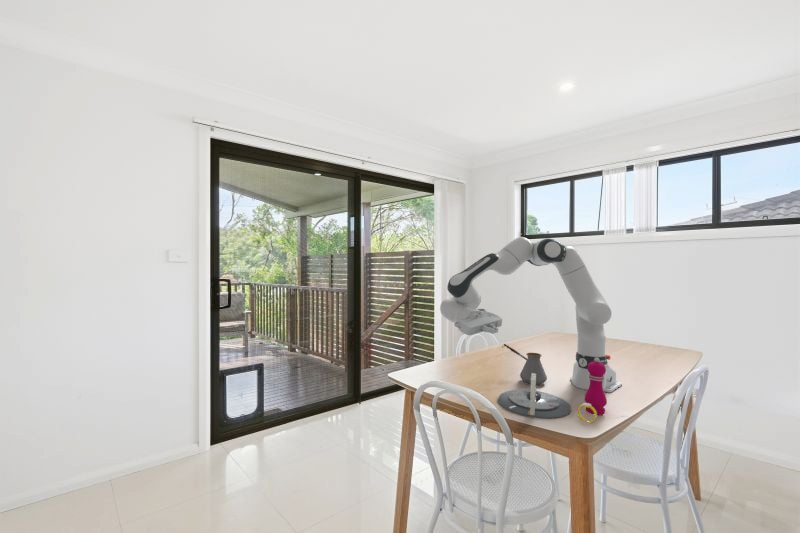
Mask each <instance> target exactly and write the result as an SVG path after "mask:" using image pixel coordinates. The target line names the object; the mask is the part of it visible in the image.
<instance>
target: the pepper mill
mask: <svg viewBox="0 0 800 533" xmlns="http://www.w3.org/2000/svg"><path fill="white" fill-rule="evenodd" d="M599 361H600V360H599V358H595V359H594V362H590V363H589V364H588V367H587V369H588V372H589V373H590V374H589V379H590V386H589V389H588V390H587V389H586V393H585V394H584V403H590V404H591V405H592V407H593V408H594V409H595V410H596V412H597V416H604V415H605V414H606V408H605V406H606V405H607V403H608V401H607V400H608V399H607V396H606V394H605V392H604V391H603V388H602V382H603V380H604V376H603V375H604V374H605V372H606V368H605V366H604V364H602V363H600V362H599ZM585 411H586V412H587V414H590V413H591V414H590V415H593V414H594V412H593V410H592V409H591V408H588V407H585ZM603 414H604V415H603Z"/></svg>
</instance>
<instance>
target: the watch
mask: <svg viewBox="0 0 800 533" xmlns="http://www.w3.org/2000/svg"><path fill="white" fill-rule="evenodd" d="M582 407H583V408H586V407H588V408H591V409H592V410H593V412H594V414H595V415H594V418H593V419H592V420H590V422H591V423H594V422H595V421H596V420H597V417H598V415H597V412H596V410H595V409H594V408H593V407H592V405H591V404H590V403H586V402H583V403H582V404H580V405H579V407H578V408H577V416H578V417H579V418H580V420H581V421H583V420H585V421H584V422H587V421H589V419H587V418H584V417H583V416H582V415H581V412H580V411H581V408H582ZM590 422H589V423H590Z"/></svg>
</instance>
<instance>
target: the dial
mask: <svg viewBox="0 0 800 533" xmlns="http://www.w3.org/2000/svg"><path fill="white" fill-rule="evenodd" d="M536 389H537V386H536V374H534V373H532V375H531V385H530V389H516V390H517V391H513V392H511V393H510V394H509V400H510V401H511V402H512V403H513V404H515V405H517V406H520V407H522V408H526V409H530V415H535V410H538V411H549V410H554V409H557V408H558V407H559V400H558V399H557V398H556V397H554V396H555V395H554V396H552V395H553V394H551V395H550V393H548V394H547V392H543V391H540V390H536Z"/></svg>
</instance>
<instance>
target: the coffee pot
mask: <svg viewBox="0 0 800 533" xmlns="http://www.w3.org/2000/svg"><path fill="white" fill-rule="evenodd" d="M505 347H506V349H508V350H510V351H511V352H513V353H514V354H516V355H518V356H519V357H521V358H522V359H524V360H525V363H524V365H523V368H522V369H521V372H520V374H519V376H520V379H521V380H522V381H523V383H524V384H526V385H529V386H531V375H532V373H534V374H536V387H537V386H541V385H543V384H544V383H546V382H547V379H548V376H547V373H546V371H545V369H544V367H543V364H542V361H541V357H542V354H541V353H537V352H526V356H527V357H526V356H524V355H523V354H521V353H520V352H518V351H517V350H515V349H514V348H513V347H511V346H509V345H508V344H505V343H503V345H502V346H501V348H505Z"/></svg>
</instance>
